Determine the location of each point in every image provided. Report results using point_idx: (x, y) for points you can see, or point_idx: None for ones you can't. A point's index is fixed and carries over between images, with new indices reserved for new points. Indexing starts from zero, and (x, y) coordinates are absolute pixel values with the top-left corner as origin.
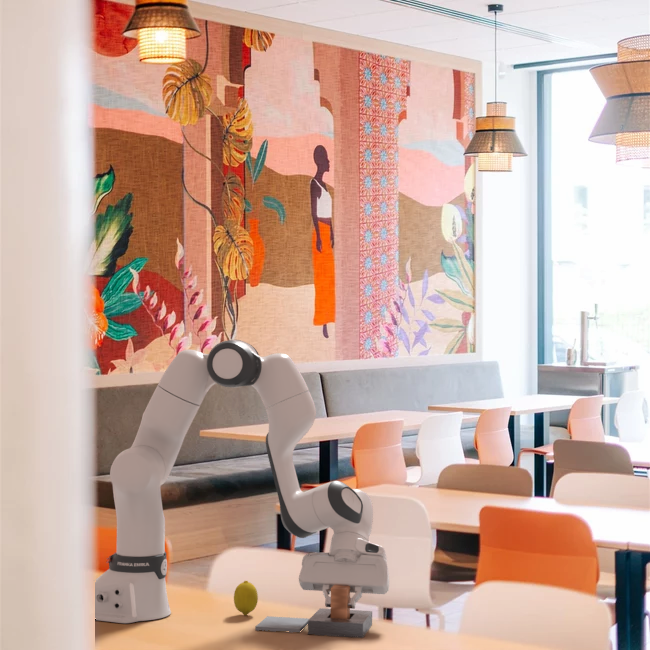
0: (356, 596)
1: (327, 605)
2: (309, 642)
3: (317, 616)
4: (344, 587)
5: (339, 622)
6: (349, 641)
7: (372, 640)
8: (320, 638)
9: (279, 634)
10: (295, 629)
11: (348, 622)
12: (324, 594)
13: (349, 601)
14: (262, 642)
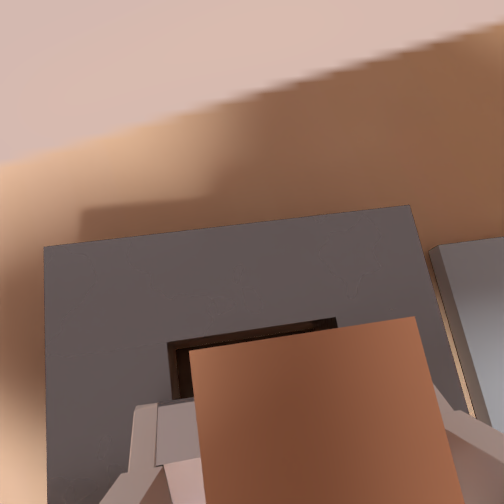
0: (107, 494)
1: None
2: (306, 110)
3: None
4: (263, 459)
5: (209, 228)
6: (129, 182)
7: (10, 240)
8: (288, 189)
9: (498, 194)
10: (460, 244)
11: (149, 240)
12: (492, 437)
13: (184, 417)
14: (483, 56)
